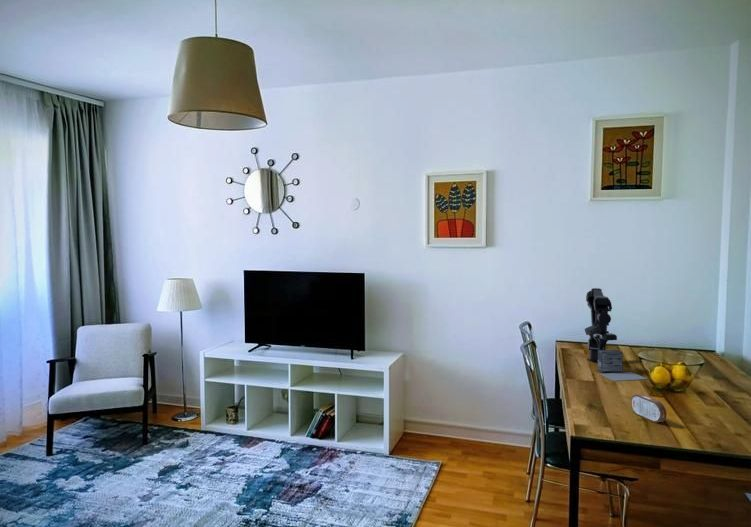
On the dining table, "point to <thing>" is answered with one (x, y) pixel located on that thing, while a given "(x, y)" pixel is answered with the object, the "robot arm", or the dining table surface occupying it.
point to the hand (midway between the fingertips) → (600, 350)
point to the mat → (623, 376)
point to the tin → (648, 408)
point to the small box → (610, 361)
